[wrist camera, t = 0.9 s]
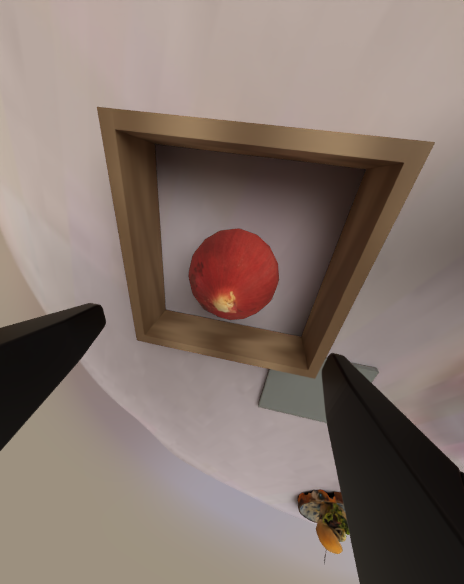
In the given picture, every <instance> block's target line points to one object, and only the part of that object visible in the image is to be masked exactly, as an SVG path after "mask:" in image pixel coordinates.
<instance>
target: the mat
mask: <svg viewBox="0 0 464 584" xmlns="http://www.w3.org/2000/svg"><path fill="white" fill-rule="evenodd" d="M326 360H327V358H326V359H325V360H324V362H323V364H322V366H321V368H320V370H319V372H318V374H317V376H316V378H315V379H313V378H308V377H304V376H299V375H295V374H290V373H285V372H281V371H276V370H272V369H269V372H268V375H267V378H266V381H265V385H264V388H263V391H262V394H261V397H260V400H259V406H258V407H261V408H265V409H269V410H274V411H278V412H282V413H286V414H291V415H295V416H299V417H303V418H307V419H312V420H316V421H320V422H324V423H327V421H326V414H325V405H324V395H323V385H322V374H321V373H322V368H323V366H324V364H325V362H326ZM352 364H353V365H354V366H355V367H356V368H357V369H358V370H359V371H360V372H361V373H362V374H363V375H364V376H365V377H366V378H367V379H368V380H369V381H370V382H371V383H372V381H373V380H374V379H375V377H376V376H377V374H378V373H379V371H378V369H377V368H374V367H369V366H364V365H359V364H354V363H352Z"/></svg>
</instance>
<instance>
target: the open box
mask: <svg viewBox="0 0 464 584" xmlns="http://www.w3.org/2000/svg"><path fill="white" fill-rule="evenodd" d="M97 110H98V116H99V122H100V128H101V134H102V140H103V145H104V151H105V157H106V163H107V169H108V175H109V180H110V186H111V192H112V198H113V204H114V210H115V215H116V221H117V227H118V233H119V239H120V245H121V250H122V256H123V262H124V268H125V274H126V280H127V285H128V291H129V297H130V303H131V309H132V315H133V320H134V326H135V332H136V338H137V340H138V341H143V342H147V343H152V344H156V345H161V346H166V347H170V348H175V349H179V350H184V351H189V352H193V353H198V354H202V355H207V356H212V357H216V358H221V359H226V360H230V361H235V362H239V363H244V364H249V365H253V366H258V367H262V368H267V369H272V370H276V371H281V372H285V373H290V374H295V375H299V376H304V377H308V378H313V379H315V378H316V376H317V374H318V372H319V370H320V368H321V366H322V364H323V362H324V360H325V359H326V357H327V355H328V353H329V351H330V349H331V347H332V345H333V343H334V341H335V339H336V337H337V335H338V333H339V331H340V329H341V327H342V325H343V323H344V321H345V319H346V317H347V315H348V313H349V311H350V309H351V307H352V305H353V303H354V301H355V299H356V297H357V295H358V293H359V291H360V289H361V288H362V286H363V284H364V282H365V280H366V278H367V276H368V274H369V272H370V270H371V268H372V266H373V264H374V262H375V260H376V258H377V256H378V254H379V252H380V250H381V248H382V246H383V244H384V242H385V240H386V238H387V236H388V234H389V232H390V230H391V228H392V226H393V224H394V222H395V220H396V218H397V216H398V215H399V213H400V211H401V209H402V207H403V205H404V203H405V201H406V199H407V197H408V195H409V193H410V191H411V189H412V187H413V185H414V183H415V181H416V179H417V177H418V175H419V173H420V171H421V169H422V167H423V165H424V163H425V161H426V159H427V157H428V155H429V153H430V151H431V149H432V147H433V145H434V143H435V142H427V141H418V140H408V139H399V138H389V137H380V136H370V135H360V134H351V133H341V132H332V131H322V130H313V129H303V128H294V127H284V126H274V125H265V124H255V123H246V122H236V121H227V120H217V119H208V118H198V117H188V116H179V115H169V114H160V113H150V112H141V111H131V110H121V109H112V108H102V107H97ZM155 144H160V145H168V146H176V147H185V148H193V149H202V150H210V151H218V152H227V153H235V154H243V155H252V156H260V157H268V158H277V159H285V160H293V161H302V162H310V163H319V164H327V165H335V166H344V167H352V168H360V169H366V171H365V173H364V176H363V178H362V181H361V184H360V186H359V189H358V191H357V194H356V196H355V199H354V202H353V204H352V207H351V209H350V212H349V215H348V217H347V220H346V222H345V225H344V227H343V230H342V233H341V235H340V238H339V240H338V243H337V246H336V248H335V251H334V253H333V256H332V258H331V261H330V264H329V266H328V269H327V271H326V274H325V277H324V279H323V282H322V284H321V287H320V289H319V292H318V295H317V297H316V300H315V302H314V305H313V308H312V310H311V313H310V315H309V318H308V320H307V323H306V326H305V328H304V331H303V333H302V336H301V337H300V336H295V335H289V334H284V333H279V332H274V331H269V330H264V329H259V328H254V327H249V326H244V325H239V324H234V323H229V322H224V321H219V320H214V319H209V318H204V317H199V316H194V315H189V314H184V313H179V312H174V311H169V310H166V307H165V292H164V277H163V262H162V247H161V231H160V216H159V201H158V186H157V171H156V156H155Z"/></svg>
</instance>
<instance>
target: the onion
mask: <svg viewBox="0 0 464 584" xmlns="http://www.w3.org/2000/svg"><path fill="white" fill-rule="evenodd" d="M189 280H190V285H191V289H192V293H193V295H194V297H195V298H196V300H197V301H198V302H199V304H200V305H201V306H202V308H203V309H205V310H206V311H208V312H210V313H212V314H214V315H216V316H218V317H221V318H225V319H229V320H234V319H244V318H247V317H249V316H251V315H253V314H256V313H257V312H259V311H260V310H261V309H262V308H263V307H265V306H266V305H267V304H268V303H269V302H270V301H271V300H272V298H273V295H274V293H275V290H276V287H277V285H278V281H279V273H278V263H277V261H276V259H275V256H274V254H273V252H272V250H271V248H270V246H269V245H268V244H266V243H265V242H264V241H263V240H262V239H261V238H260V237H259V236H258V235H256V234H253V233H250V232H248V231H245V230H242V229H230V230H221V231H219V232H217V233H215V234H213V235H212V236H210V237H208V238H207V239H205V240H204V241H203V243H202V244H201V245H200V246H199V248H198V249H197V250H196V251H195V253H194V254H193V256H192V260H191V265H190V269H189Z"/></svg>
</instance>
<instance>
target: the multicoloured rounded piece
mask: <svg viewBox="0 0 464 584" xmlns="http://www.w3.org/2000/svg"><path fill="white" fill-rule="evenodd" d="M334 494H335V497H334V498H330V497H329V496H328V495H327V493H325V492H324V491H323V490H318V491H315V490H313V492H312V493H308V495H305V494H304V493H302V494H300V495H299V496H298V509H299V512H300V513H301V515H303V516H304V517H305V518H307V519H308V520H310V521H312V522H316V523H317V527H316V531H317V535H318V537H319V540H320V542H321V543H322V545H323V546H324V547H325V548H326V549H327V550H328V551H330V552H332V553H335V554H340V553H341V552H342V551H343V550H342V547H341V545H340V543H339V542H343V541H345V540H346V535H345V534H347V535H349V534H350V533H349V528H348V524H347V519H346V514H345V509H344V504H343V499H342V494H341V492H334Z"/></svg>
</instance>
